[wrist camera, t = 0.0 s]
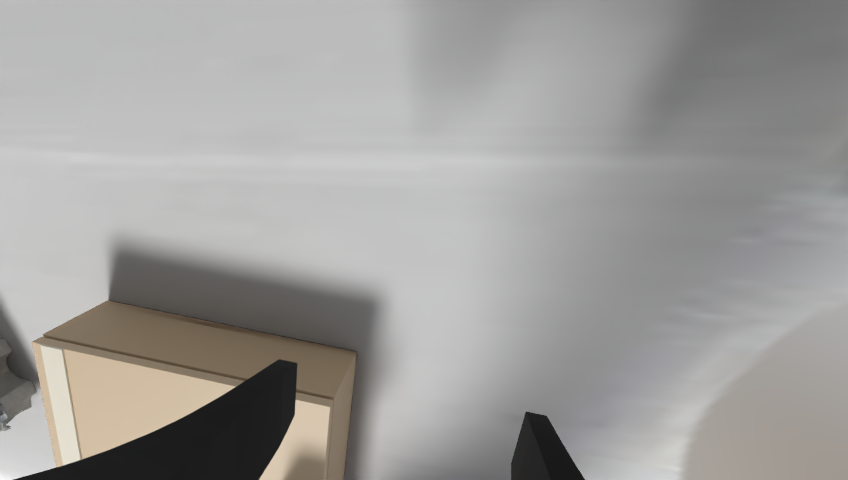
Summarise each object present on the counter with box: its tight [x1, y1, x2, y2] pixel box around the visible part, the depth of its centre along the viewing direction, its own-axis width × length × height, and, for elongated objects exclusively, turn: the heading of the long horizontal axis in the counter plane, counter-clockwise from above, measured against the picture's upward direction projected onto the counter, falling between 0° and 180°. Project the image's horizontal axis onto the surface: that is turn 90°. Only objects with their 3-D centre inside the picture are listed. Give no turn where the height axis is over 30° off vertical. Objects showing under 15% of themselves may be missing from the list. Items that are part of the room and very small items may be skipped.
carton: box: [43, 301, 357, 480], centre depth 26 cm, size 15×16×4 cm
